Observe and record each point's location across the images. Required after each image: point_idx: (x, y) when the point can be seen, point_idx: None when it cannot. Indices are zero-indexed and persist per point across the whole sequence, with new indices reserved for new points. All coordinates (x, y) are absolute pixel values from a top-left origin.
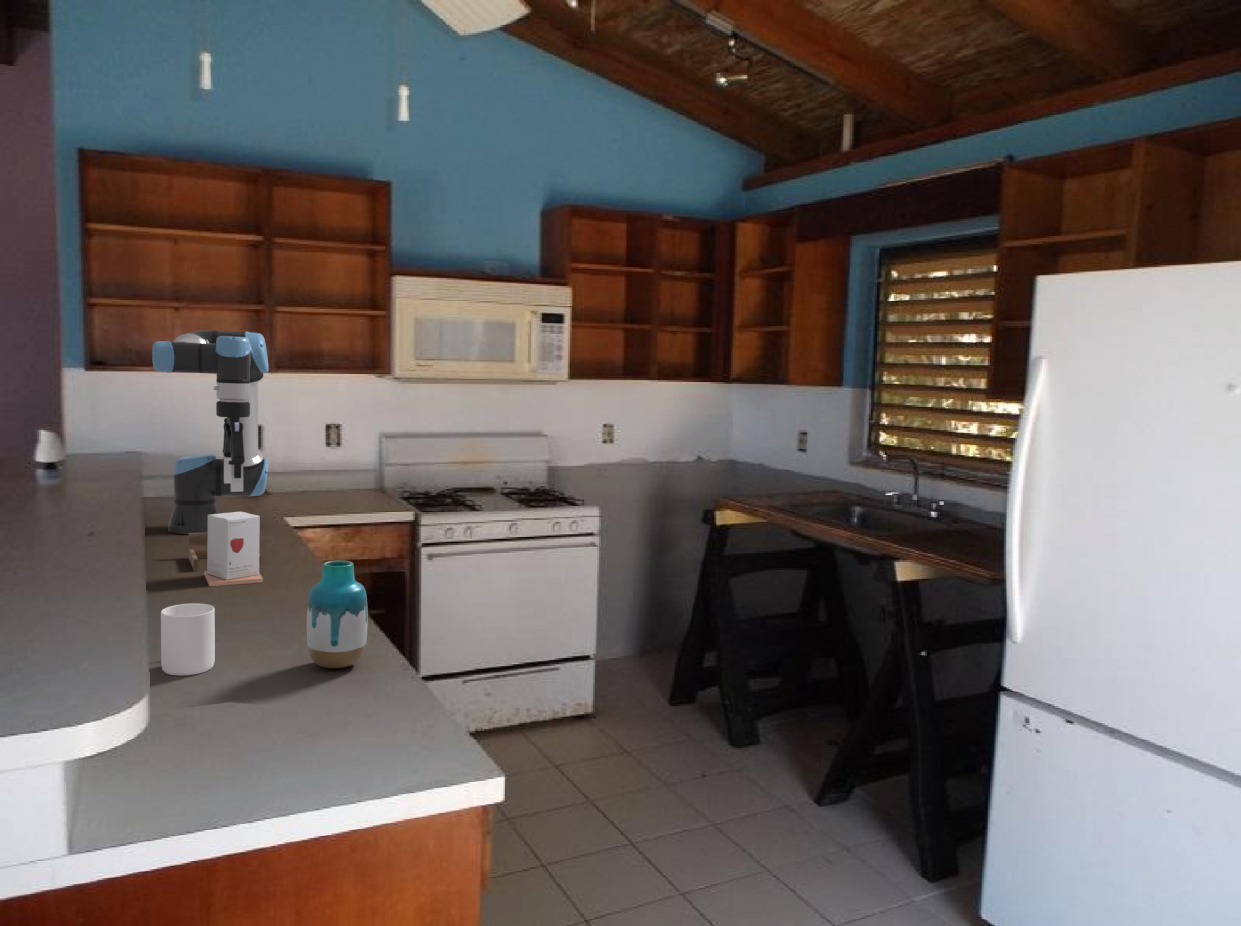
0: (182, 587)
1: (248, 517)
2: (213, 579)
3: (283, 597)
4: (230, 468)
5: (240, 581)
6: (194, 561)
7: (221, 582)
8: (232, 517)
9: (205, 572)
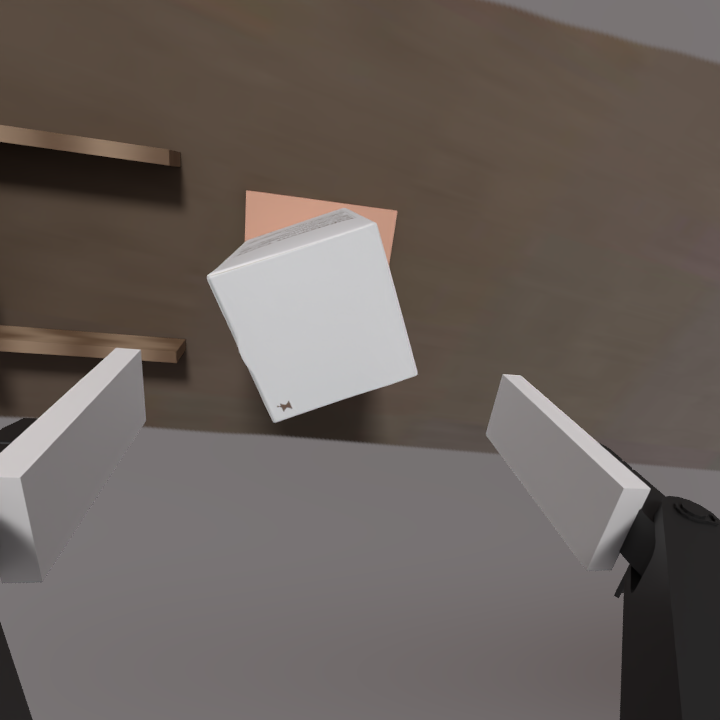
0: (354, 396)
1: (391, 281)
2: None
3: (570, 207)
4: (92, 448)
5: None
6: (177, 359)
7: None
8: (384, 349)
9: None
